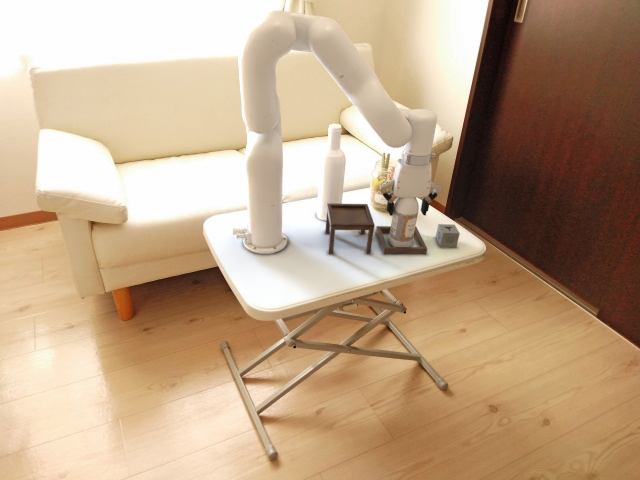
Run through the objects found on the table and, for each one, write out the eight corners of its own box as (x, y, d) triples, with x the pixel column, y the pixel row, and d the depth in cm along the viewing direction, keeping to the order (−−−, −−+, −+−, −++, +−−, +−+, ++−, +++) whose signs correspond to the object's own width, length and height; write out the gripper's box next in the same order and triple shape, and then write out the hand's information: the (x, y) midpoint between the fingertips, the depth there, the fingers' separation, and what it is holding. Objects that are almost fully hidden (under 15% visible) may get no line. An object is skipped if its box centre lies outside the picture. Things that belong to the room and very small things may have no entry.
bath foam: (399, 251, 131) (410, 189, 121) (383, 240, 136) (393, 179, 125) (416, 245, 135) (428, 184, 124) (400, 234, 140) (411, 174, 129)
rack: (328, 254, 128) (331, 224, 123) (325, 231, 139) (327, 203, 133) (426, 254, 131) (432, 225, 126) (415, 231, 141) (420, 204, 136)
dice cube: (451, 238, 139) (454, 224, 136) (456, 247, 135) (459, 233, 132) (435, 238, 139) (438, 224, 136) (439, 247, 135) (443, 233, 132)
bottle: (341, 222, 144) (349, 130, 128) (316, 221, 144) (321, 129, 127) (340, 210, 150) (348, 121, 134) (316, 208, 150) (322, 120, 134)
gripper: (442, 152, 125) (432, 206, 134) (381, 151, 123) (374, 207, 133) (451, 163, 118) (439, 219, 128) (386, 163, 117) (379, 220, 126)
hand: (406, 213), depth 130 cm, fingers open, 9 cm apart
